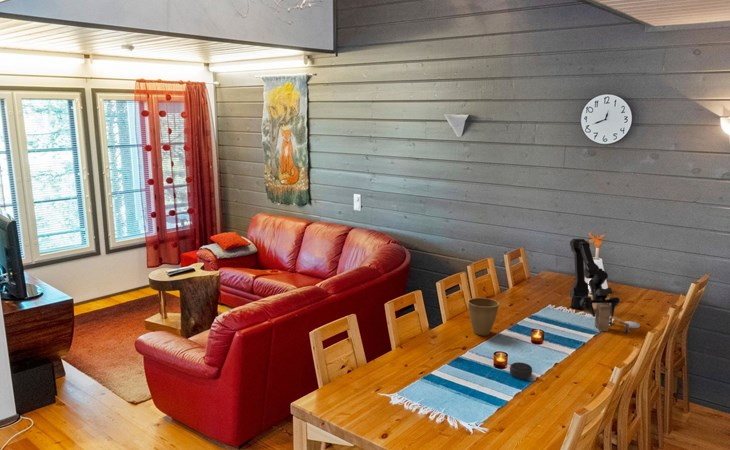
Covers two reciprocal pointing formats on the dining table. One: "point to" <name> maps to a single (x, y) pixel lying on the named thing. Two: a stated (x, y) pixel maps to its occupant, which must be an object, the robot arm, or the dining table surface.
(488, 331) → the plant pot
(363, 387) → the dining table surface
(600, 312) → the taupe upright block
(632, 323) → the pad
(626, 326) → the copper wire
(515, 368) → the smart speaker
